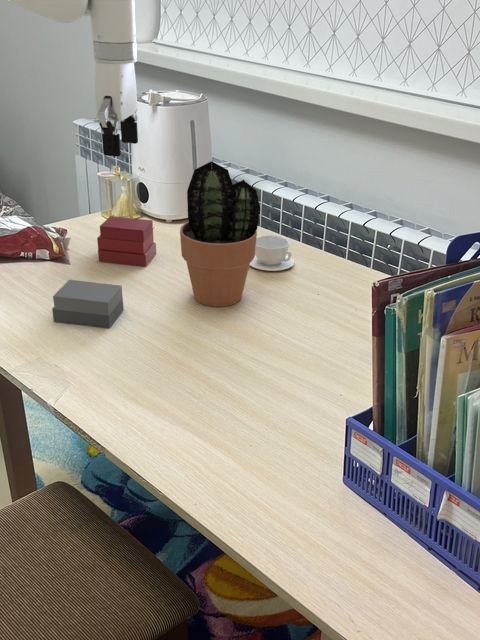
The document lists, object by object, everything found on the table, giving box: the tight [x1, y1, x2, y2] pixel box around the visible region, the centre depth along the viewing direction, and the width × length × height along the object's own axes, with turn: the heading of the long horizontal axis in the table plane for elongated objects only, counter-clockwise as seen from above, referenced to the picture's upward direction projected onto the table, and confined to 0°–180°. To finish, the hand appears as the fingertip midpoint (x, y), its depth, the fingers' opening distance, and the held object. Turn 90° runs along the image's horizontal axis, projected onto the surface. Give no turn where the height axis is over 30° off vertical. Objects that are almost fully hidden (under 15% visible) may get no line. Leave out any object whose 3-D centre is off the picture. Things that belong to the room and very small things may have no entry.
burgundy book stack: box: [96, 231, 157, 268], centre depth 142 cm, size 10×7×5 cm
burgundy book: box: [99, 215, 154, 242], centre depth 140 cm, size 9×6×2 cm, turn 80°
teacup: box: [249, 234, 295, 272], centre depth 142 cm, size 10×10×5 cm
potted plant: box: [179, 160, 261, 307], centre depth 123 cm, size 14×14×25 cm
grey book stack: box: [51, 279, 124, 329], centre depth 119 cm, size 10×7×5 cm
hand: (121, 149), depth 132 cm, fingers open, 9 cm apart
